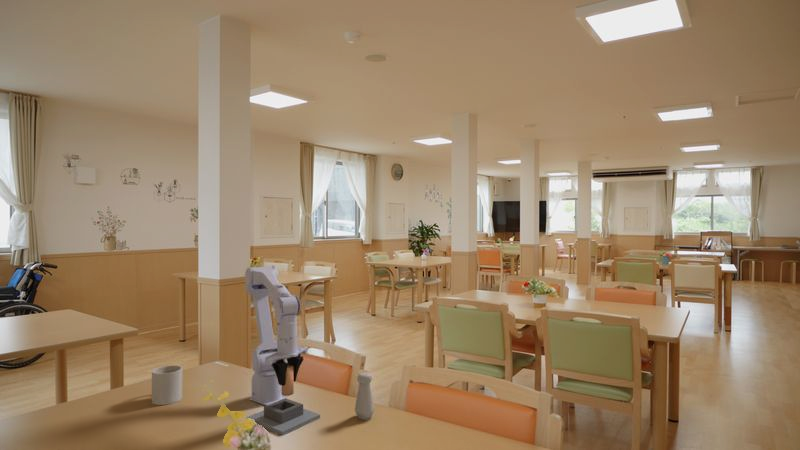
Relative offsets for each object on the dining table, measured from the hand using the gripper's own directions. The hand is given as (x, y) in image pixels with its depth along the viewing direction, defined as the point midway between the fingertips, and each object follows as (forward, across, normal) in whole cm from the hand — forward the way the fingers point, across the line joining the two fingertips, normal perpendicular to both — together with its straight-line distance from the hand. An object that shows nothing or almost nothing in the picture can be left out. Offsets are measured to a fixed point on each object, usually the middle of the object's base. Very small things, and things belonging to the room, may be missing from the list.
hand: (287, 382), depth 135 cm
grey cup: (+10, -13, +44) cm, 47 cm away
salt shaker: (+10, +13, -19) cm, 25 cm away
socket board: (+10, -2, 0) cm, 10 cm away
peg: (+3, 0, 0) cm, 3 cm away
